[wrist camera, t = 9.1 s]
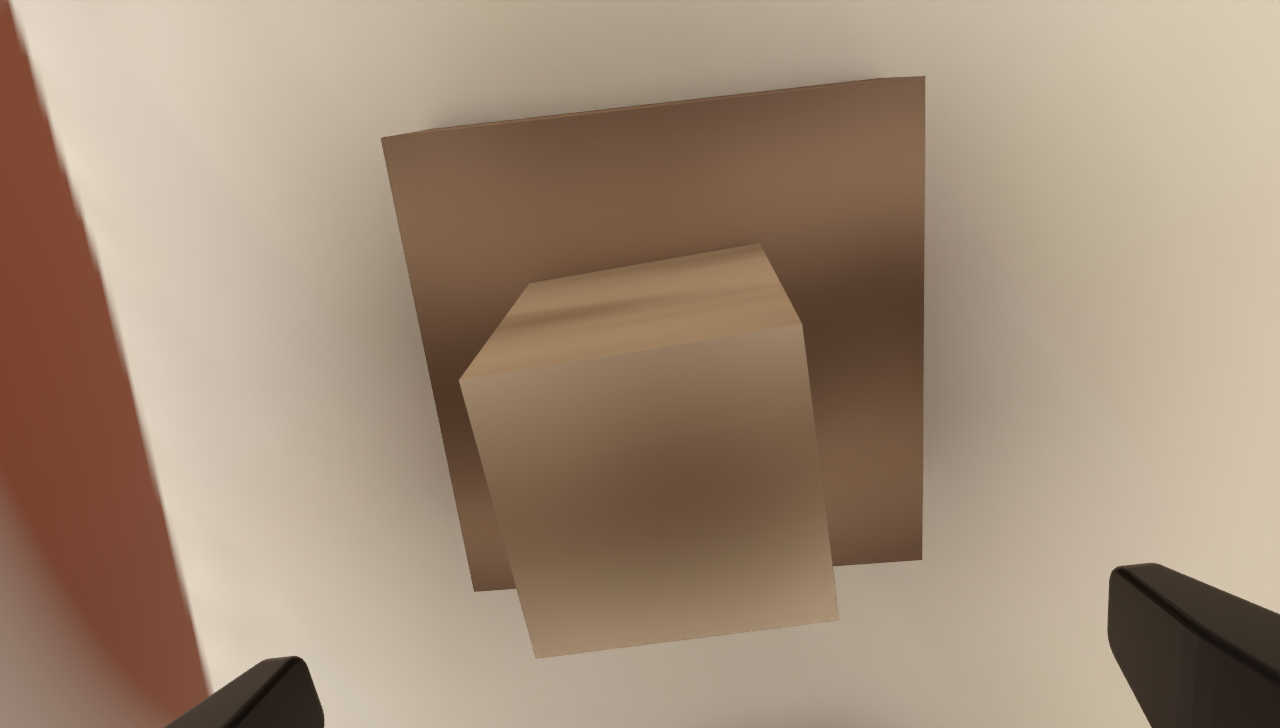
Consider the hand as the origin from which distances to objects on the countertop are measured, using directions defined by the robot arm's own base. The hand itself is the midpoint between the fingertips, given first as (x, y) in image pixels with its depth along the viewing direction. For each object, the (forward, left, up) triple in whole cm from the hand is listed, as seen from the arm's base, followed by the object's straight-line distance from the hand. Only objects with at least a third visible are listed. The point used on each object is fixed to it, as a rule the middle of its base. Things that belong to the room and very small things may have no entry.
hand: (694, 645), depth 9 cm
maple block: (0, 0, -10) cm, 10 cm away
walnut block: (0, 0, -14) cm, 14 cm away
